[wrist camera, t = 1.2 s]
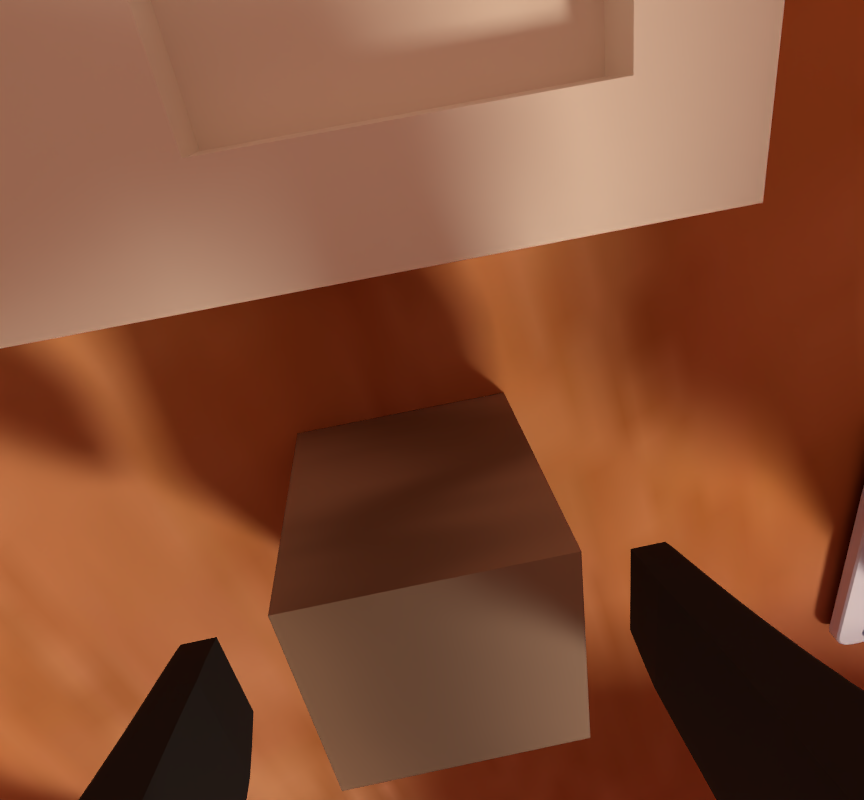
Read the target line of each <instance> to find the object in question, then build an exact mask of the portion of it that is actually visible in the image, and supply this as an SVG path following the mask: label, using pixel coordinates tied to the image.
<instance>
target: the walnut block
mask: <svg viewBox="0 0 864 800" xmlns="http://www.w3.org/2000/svg"><path fill="white" fill-rule="evenodd" d="M268 617H269V619H270V621H271V624H272V626H273V628H274V631H275V633H276V636H277V638H278V640H279V643H280V645H281V647H282V650H283V652H284V654H285V657H286V659H287V662H288V664H289V666H290V669H291V671H292V673H293V676H294V678H295V681H296V683H297V685H298V688H299V690H300V692H301V695H302V697H303V699H304V702H305V704H306V707H307V709H308V711H309V714H310V716H311V718H312V721H313V723H314V725H315V728H316V730H317V733H318V735H319V737H320V740H321V742H322V744H323V747H324V749H325V751H326V754H327V756H328V759H329V761H330V763H331V766H332V768H333V770H334V773H335V775H336V777H337V780H338V782H339V785H340V787H341V789H342V791H345V790H349V789H354V788H359V787H363V786H368V785H373V784H377V783H382V782H387V781H391V780H396V779H401V778H405V777H410V776H414V775H419V774H424V773H428V772H433V771H438V770H442V769H447V768H452V767H456V766H461V765H466V764H470V763H475V762H480V761H484V760H489V759H494V758H498V757H503V756H508V755H512V754H517V753H521V752H526V751H531V750H535V749H540V748H545V747H549V746H554V745H559V744H563V743H568V742H573V741H577V740H582V739H587V738H590V721H589V701H588V680H587V660H586V639H585V619H584V598H583V578H582V557H581V550H580V548H579V546H578V544H577V542H576V540H575V538H574V536H573V533H572V531H571V529H570V527H569V525H568V523H567V521H566V519H565V517H564V515H563V513H562V511H561V509H560V507H559V505H558V503H557V501H556V499H555V497H554V495H553V493H552V491H551V488H550V486H549V484H548V482H547V480H546V478H545V476H544V474H543V472H542V470H541V468H540V466H539V464H538V462H537V460H536V458H535V456H534V454H533V452H532V450H531V448H530V445H529V443H528V441H527V439H526V437H525V435H524V433H523V431H522V429H521V427H520V425H519V423H518V421H517V419H516V417H515V415H514V413H513V411H512V409H511V407H510V405H509V403H508V400H507V398H506V396H505V394H504V393H499V394H494V395H489V396H484V397H479V398H474V399H469V400H464V401H459V402H454V403H449V404H444V405H439V406H434V407H429V408H424V409H419V410H414V411H409V412H404V413H399V414H394V415H389V416H383V417H378V418H373V419H368V420H363V421H358V422H353V423H348V424H343V425H338V426H333V427H328V428H323V429H318V430H313V431H308V432H303V433H298V434H297V440H296V447H295V453H294V459H293V465H292V471H291V477H290V484H289V490H288V496H287V502H286V508H285V515H284V521H283V527H282V533H281V539H280V546H279V552H278V558H277V564H276V570H275V576H274V583H273V589H272V595H271V601H270V607H269V614H268Z"/></svg>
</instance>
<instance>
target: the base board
mask: <svg viewBox="0 0 864 800" xmlns="http://www.w3.org/2000/svg"><path fill="white" fill-rule="evenodd" d="M784 4H785V0H0V349H1V348H6V347H12V346H17V345H22V344H27V343H32V342H38V341H43V340H48V339H53V338H59V337H64V336H69V335H74V334H79V333H85V332H90V331H95V330H100V329H106V328H111V327H116V326H121V325H126V324H132V323H137V322H142V321H147V320H153V319H158V318H163V317H168V316H173V315H179V314H184V313H189V312H194V311H200V310H205V309H210V308H215V307H220V306H226V305H231V304H236V303H241V302H247V301H252V300H257V299H262V298H267V297H273V296H278V295H283V294H288V293H294V292H299V291H304V290H309V289H314V288H320V287H325V286H330V285H335V284H340V283H346V282H351V281H356V280H361V279H367V278H372V277H377V276H382V275H387V274H393V273H398V272H403V271H408V270H414V269H419V268H424V267H429V266H434V265H440V264H445V263H450V262H455V261H461V260H466V259H471V258H476V257H481V256H487V255H492V254H497V253H502V252H508V251H513V250H518V249H523V248H528V247H534V246H539V245H544V244H549V243H555V242H560V241H565V240H570V239H575V238H581V237H586V236H591V235H596V234H602V233H607V232H612V231H617V230H622V229H628V228H633V227H638V226H643V225H649V224H654V223H659V222H664V221H669V220H675V219H680V218H685V217H690V216H696V215H701V214H706V213H711V212H716V211H722V210H727V209H732V208H737V207H743V206H748V205H753V204H758V203H763V197H764V188H765V179H766V170H767V160H768V151H769V142H770V133H771V124H772V114H773V105H774V96H775V87H776V77H777V68H778V59H779V50H780V40H781V31H782V22H783V13H784Z"/></svg>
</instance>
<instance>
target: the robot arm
mask: <svg viewBox="0 0 864 800" xmlns="http://www.w3.org/2000/svg"><path fill="white" fill-rule="evenodd" d="M630 630H631V633H632V635H633V638H634V640H635V642H636V645H637V647H638V650H639V652H640V655H641V657H642V659H643V662H644V664H645V666H646V669H647V671H648V673H649V676H650V678H651V680H652V683H653V685H654V687H655V689H656V691H657V693H658V695H659V697H660V698H661V700H662V702H663V704H664V706H665V708H666V709H667V711H668V713H669V715H670V717H671V718H672V720H673V722H674V724H675V726H676V728H677V729H678V731H679V733H680V735H681V737H682V738H683V740H684V742H685V744H686V746H687V747H688V749H689V751H690V753H691V755H692V756H693V758H694V760H695V762H696V763H697V765H698V767H699V769H700V771H701V772H702V774H703V776H704V778H705V780H706V781H707V783H708V785H709V787H710V789H711V790H712V792H713V794H714V796H715V798H716V799H717V800H864V691H863V690H862V689H860V688H859V687H857V686H856V685H854V684H853V683H851V682H850V681H848V680H847V679H845V678H844V677H842V676H841V675H839V674H838V673H837V672H835V671H834V670H832V669H831V668H829V667H828V666H826V665H825V664H823V663H822V662H821V661H819V660H818V659H816V658H815V657H813V656H812V655H811V654H809V653H808V652H806V651H805V650H804V649H802V648H801V647H799V646H798V645H797V644H795V643H794V642H793V641H791V640H790V639H789V638H787V637H786V636H785V635H783V634H782V633H781V632H779V631H778V630H777V629H775V628H774V627H773V626H771V625H770V624H769V623H767V622H766V621H765V620H763V619H762V618H760V617H759V616H758V615H756V614H755V613H754V612H753V611H751V610H750V609H749V608H747V607H746V606H745V605H744V604H742V603H741V602H740V601H738V600H737V599H736V598H735V597H733V596H732V595H731V594H730V593H728V592H727V591H726V590H725V589H723V588H722V587H721V586H720V585H718V584H717V583H716V582H715V581H713V580H712V579H711V578H710V577H708V576H707V575H706V574H705V573H703V572H702V571H701V570H700V569H699V568H697V567H696V566H695V565H694V564H692V563H691V562H690V561H689V560H688V559H686V558H685V557H684V556H683V555H681V554H680V553H679V552H678V551H677V550H675V549H674V548H673V547H672V546H670V545H669V544H667V543H666V542H662V543H657V544H653V545H648V546H643V547H638V548H634V549H631V597H630ZM829 632H830V633H831V634H832V635H833V637H834V638H835V639H836V640H837V641H838V642H839V643H840V644H844V645H849V644H855V643H860V642H864V487H863V491H862V495H861V499H860V503H859V507H858V511H857V516H856V520H855V524H854V528H853V532H852V536H851V540H850V544H849V549H848V553H847V557H846V561H845V565H844V569H843V573H842V577H841V582H840V586H839V590H838V594H837V598H836V602H835V606H834V610H833V615H832V619H831V623H830V627H829ZM252 732H253V710H252V708H251V706H250V704H249V702H248V700H247V698H246V696H245V694H244V692H243V690H242V688H241V686H240V684H239V682H238V680H237V678H236V676H235V674H234V672H233V670H232V668H231V666H230V664H229V662H228V660H227V658H226V656H225V654H224V651H223V649H222V647H221V645H220V643H219V641H218V639H217V637H215V638H210V639H206V640H201V641H196V642H192V643H187V644H182V645H180V646H179V648H178V649H177V651H176V652H175V654H174V655H173V657H172V658H171V660H170V661H169V663H168V664H167V666H166V667H165V669H164V671H163V672H162V674H161V675H160V677H159V678H158V680H157V682H156V683H155V685H154V686H153V688H152V689H151V691H150V693H149V694H148V696H147V697H146V699H145V700H144V702H143V704H142V705H141V707H140V708H139V710H138V711H137V713H136V714H135V716H134V718H133V719H132V721H131V722H130V724H129V725H128V727H127V728H126V730H125V732H124V733H123V735H122V736H121V738H120V739H119V741H118V742H117V744H116V745H115V747H114V748H113V750H112V751H111V753H110V754H109V756H108V757H107V759H106V760H105V762H104V763H103V765H102V766H101V768H100V769H99V771H98V772H97V774H96V775H95V777H94V778H93V780H92V781H91V783H90V784H89V786H88V787H87V789H86V790H85V791H84V793H83V794H82V796H81V797H80V799H79V800H246V799H247V792H248V786H249V779H250V767H251V752H252Z"/></svg>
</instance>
